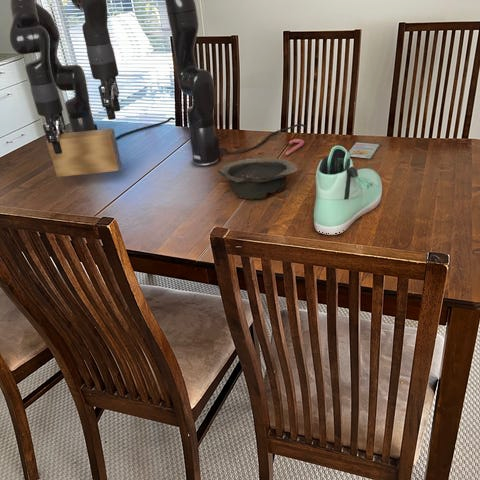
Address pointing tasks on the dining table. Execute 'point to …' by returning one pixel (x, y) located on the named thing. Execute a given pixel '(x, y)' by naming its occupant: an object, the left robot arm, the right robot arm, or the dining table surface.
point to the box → (86, 153)
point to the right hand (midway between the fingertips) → (114, 115)
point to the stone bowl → (257, 176)
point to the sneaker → (343, 192)
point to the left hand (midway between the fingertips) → (61, 149)
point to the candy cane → (295, 146)
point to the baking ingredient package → (363, 150)
